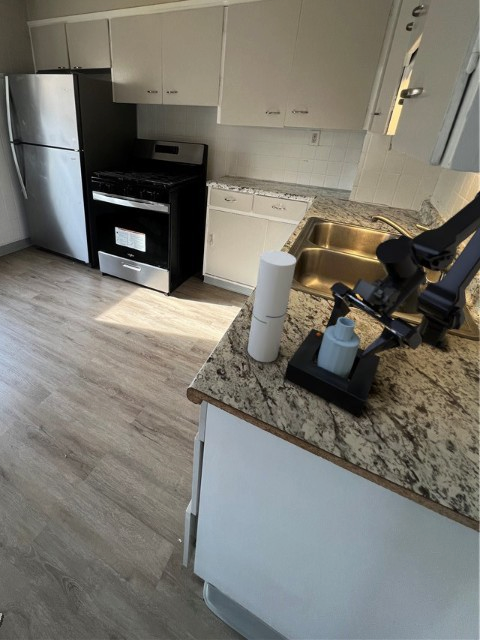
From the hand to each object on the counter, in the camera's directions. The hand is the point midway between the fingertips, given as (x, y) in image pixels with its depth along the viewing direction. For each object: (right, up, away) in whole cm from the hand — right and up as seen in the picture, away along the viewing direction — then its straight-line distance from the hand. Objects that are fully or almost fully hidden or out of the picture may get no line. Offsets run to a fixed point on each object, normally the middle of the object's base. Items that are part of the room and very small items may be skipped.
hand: (343, 342), depth 65 cm
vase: (-1, -8, +4) cm, 9 cm away
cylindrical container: (-15, -5, +10) cm, 18 cm away
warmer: (-1, -8, +4) cm, 9 cm away
